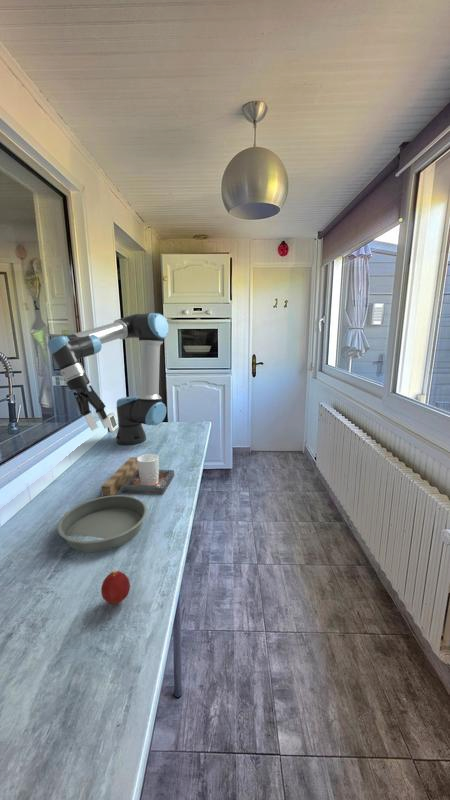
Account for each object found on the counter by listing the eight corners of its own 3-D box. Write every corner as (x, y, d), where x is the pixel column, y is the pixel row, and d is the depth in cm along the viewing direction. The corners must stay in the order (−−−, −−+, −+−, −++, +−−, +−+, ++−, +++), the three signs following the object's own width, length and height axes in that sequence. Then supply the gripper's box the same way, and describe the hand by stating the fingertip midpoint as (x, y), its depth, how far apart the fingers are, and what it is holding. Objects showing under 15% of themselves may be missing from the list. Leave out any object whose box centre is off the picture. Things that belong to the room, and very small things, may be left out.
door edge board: (131, 468, 141) (130, 457, 140) (138, 468, 141) (137, 457, 140) (102, 499, 116) (101, 486, 115) (111, 500, 115) (109, 486, 114)
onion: (107, 592, 75) (103, 561, 73) (133, 590, 75) (130, 559, 74) (99, 614, 69) (95, 581, 68) (128, 612, 70) (124, 579, 68)
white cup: (162, 478, 130) (161, 454, 128) (156, 487, 123) (154, 462, 121) (143, 477, 131) (141, 453, 129) (135, 487, 124) (133, 461, 121)
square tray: (137, 474, 135) (137, 469, 135) (174, 475, 133) (174, 470, 133) (123, 492, 120) (122, 486, 120) (163, 494, 119) (163, 487, 118)
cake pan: (63, 516, 106) (61, 503, 105) (142, 501, 115) (141, 489, 114) (54, 567, 84) (52, 551, 83) (153, 543, 92) (152, 529, 91)
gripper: (56, 386, 132) (81, 434, 136) (76, 375, 113) (105, 430, 117) (74, 379, 137) (98, 425, 141) (96, 367, 118) (123, 421, 122)
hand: (101, 428), depth 129 cm, fingers open, 13 cm apart
